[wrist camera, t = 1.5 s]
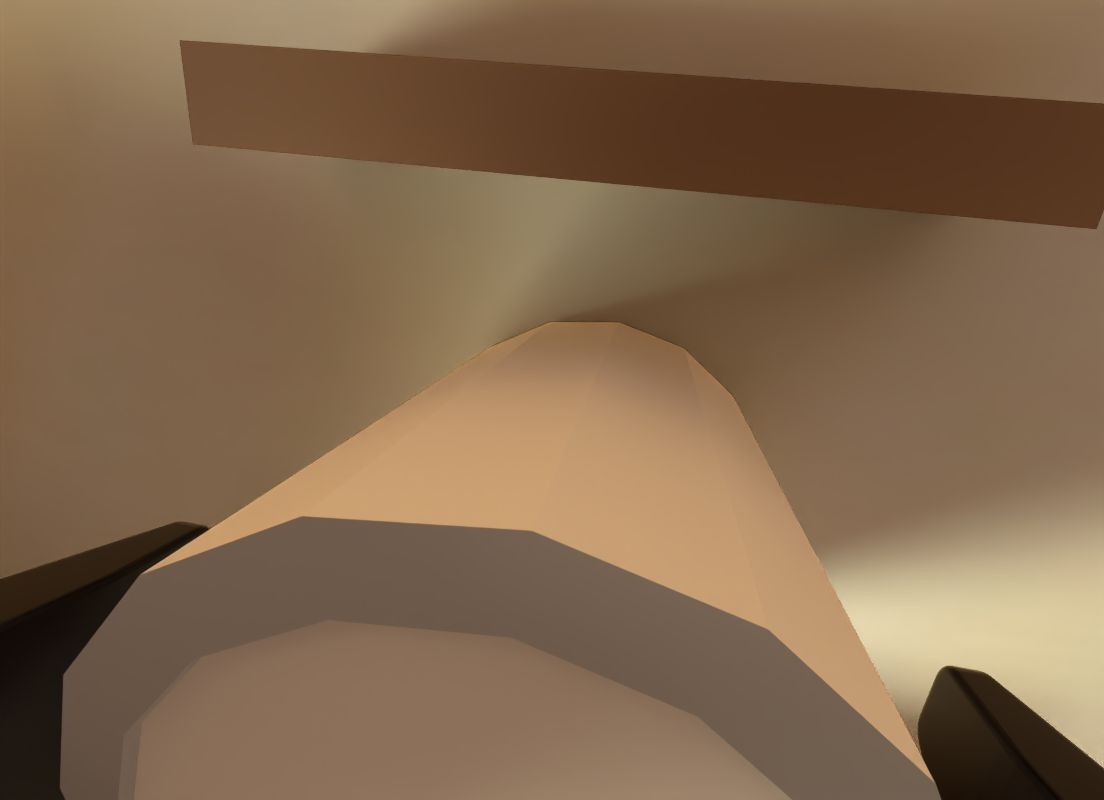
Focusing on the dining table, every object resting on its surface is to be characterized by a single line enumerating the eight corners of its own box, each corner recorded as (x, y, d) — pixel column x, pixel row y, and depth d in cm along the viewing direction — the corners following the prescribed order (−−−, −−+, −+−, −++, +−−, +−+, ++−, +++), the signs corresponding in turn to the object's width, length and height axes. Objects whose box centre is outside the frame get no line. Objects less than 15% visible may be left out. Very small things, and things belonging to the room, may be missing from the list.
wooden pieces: (780, 776, 13) (808, 950, 10) (358, 684, 14) (279, 815, 11) (984, 121, 8) (1144, 107, 5) (327, 72, 9) (179, 39, 7)
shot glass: (413, 243, 10) (-58, 407, 4) (857, 325, 9) (1264, 722, 3) (392, 586, 13) (101, 1031, 6) (734, 673, 12) (803, 1280, 5)
